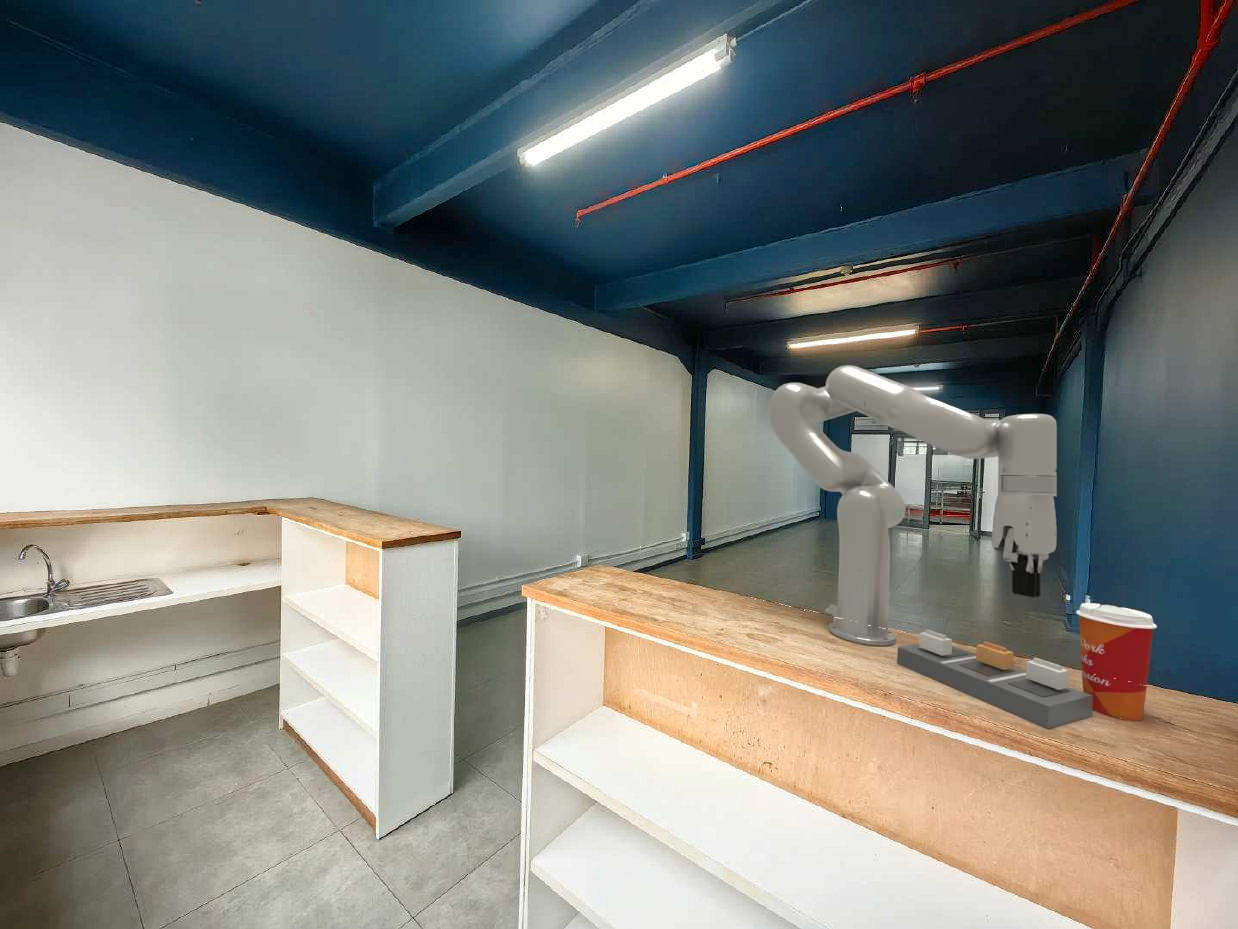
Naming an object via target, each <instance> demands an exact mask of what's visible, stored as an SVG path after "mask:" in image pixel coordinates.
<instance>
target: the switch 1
mask: <svg viewBox="0 0 1238 929" xmlns="http://www.w3.org/2000/svg"><path fill="white" fill-rule="evenodd" d="M918 635H919V636H918V637H919V639H918V644H919V647H921V648H923V649H926V650H929V651H931V652H934V653H936V654H939V655H942V656H943V655H949V654H952V646H953V639H952V638H948V637H947V635H945V634H943V633H939V632H936V631H934V630H931V629H925V631H923V632H919V634H918Z"/></svg>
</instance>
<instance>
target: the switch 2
mask: <svg viewBox="0 0 1238 929" xmlns="http://www.w3.org/2000/svg"><path fill="white" fill-rule="evenodd" d="M975 651H976V653H975V654H976V660H978V661H980V662H983V663H986V664H989V665H991V666H994V667H997V668H1000V669H1002V670H1006V669H1011V668H1013V667H1014V655H1015V654H1014V652H1013V651H1010V650H1008V647H1007V648H1006V647H1004V646H1001V645H998V644H996V643H995V644H994V643H991V642H988V641H982V643H980V644H977V645H976V650H975ZM989 651H990V652H989Z"/></svg>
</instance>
